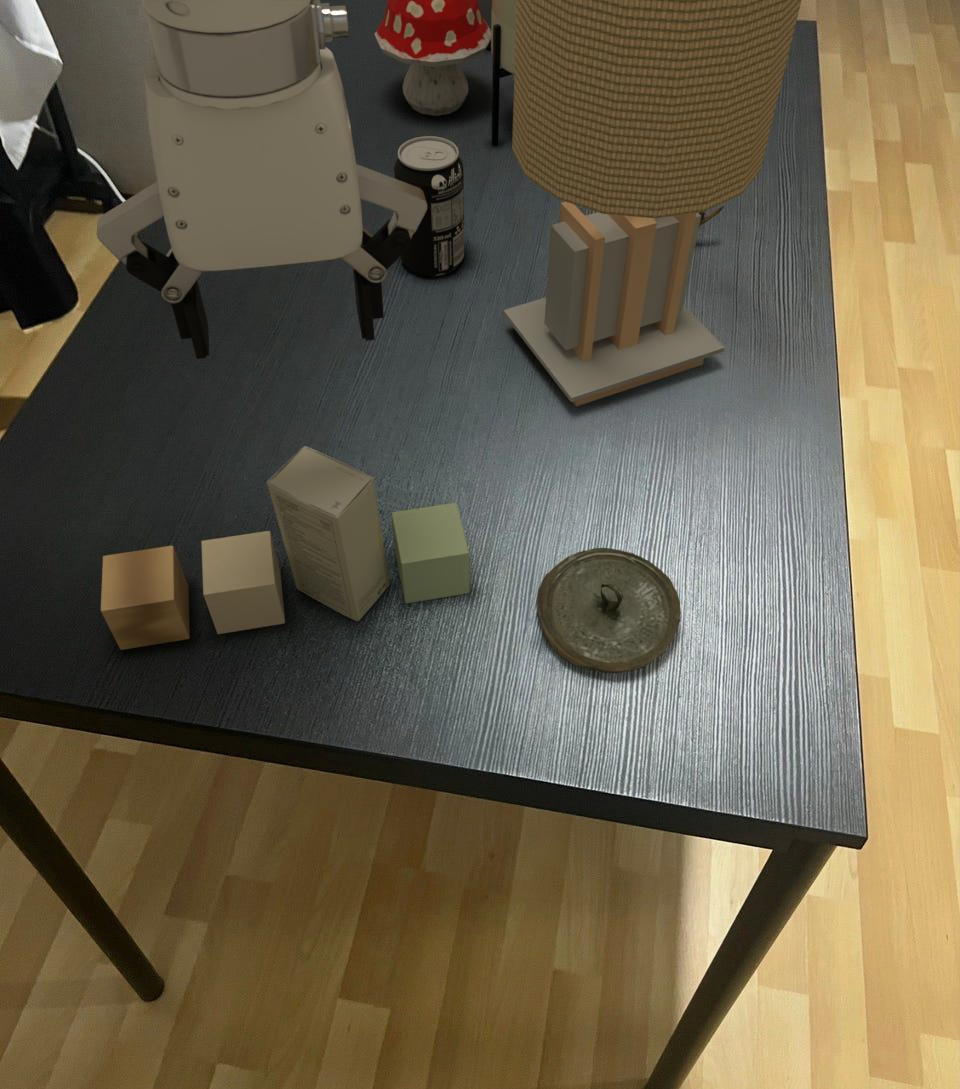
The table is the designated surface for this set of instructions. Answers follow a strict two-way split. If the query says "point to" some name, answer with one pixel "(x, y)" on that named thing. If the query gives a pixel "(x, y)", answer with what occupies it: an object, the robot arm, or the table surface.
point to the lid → (608, 610)
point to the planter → (501, 52)
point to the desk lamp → (636, 169)
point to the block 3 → (431, 552)
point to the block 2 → (242, 582)
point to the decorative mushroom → (434, 49)
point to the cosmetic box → (331, 531)
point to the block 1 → (145, 597)
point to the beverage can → (434, 204)
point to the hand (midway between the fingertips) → (285, 334)
